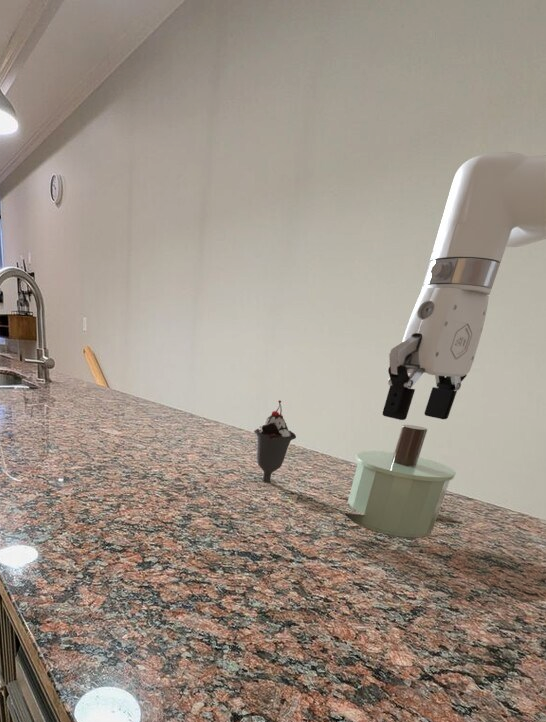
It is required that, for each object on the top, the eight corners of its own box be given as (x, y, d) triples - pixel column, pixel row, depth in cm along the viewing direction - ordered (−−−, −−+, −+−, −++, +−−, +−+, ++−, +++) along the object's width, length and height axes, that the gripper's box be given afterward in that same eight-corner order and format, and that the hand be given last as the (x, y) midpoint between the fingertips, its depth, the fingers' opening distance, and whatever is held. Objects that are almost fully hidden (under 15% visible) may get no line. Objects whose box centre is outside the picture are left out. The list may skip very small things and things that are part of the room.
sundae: (269, 483, 80) (285, 398, 74) (292, 497, 74) (311, 406, 68) (237, 485, 78) (251, 397, 72) (258, 499, 72) (275, 405, 66)
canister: (386, 503, 75) (401, 455, 72) (450, 534, 65) (470, 479, 61) (328, 507, 71) (341, 455, 68) (386, 540, 61) (404, 481, 57)
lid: (400, 457, 73) (411, 418, 70) (474, 484, 61) (491, 438, 59) (335, 458, 68) (345, 417, 66) (403, 487, 57) (418, 438, 55)
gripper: (449, 267, 48) (401, 424, 55) (525, 288, 57) (476, 422, 63) (388, 271, 54) (351, 412, 61) (464, 289, 63) (425, 412, 69)
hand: (415, 417), depth 62 cm, fingers open, 9 cm apart
